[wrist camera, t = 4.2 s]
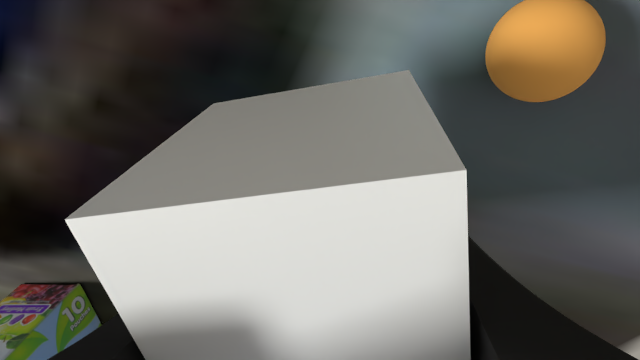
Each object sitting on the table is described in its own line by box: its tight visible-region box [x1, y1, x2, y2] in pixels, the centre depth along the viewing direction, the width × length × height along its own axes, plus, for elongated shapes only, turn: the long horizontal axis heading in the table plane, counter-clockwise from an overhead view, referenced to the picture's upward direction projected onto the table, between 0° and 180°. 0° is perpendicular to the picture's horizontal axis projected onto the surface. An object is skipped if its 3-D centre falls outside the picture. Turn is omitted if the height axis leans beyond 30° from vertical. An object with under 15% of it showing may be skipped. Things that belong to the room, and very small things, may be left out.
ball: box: [485, 0, 606, 102], centre depth 15 cm, size 4×4×4 cm
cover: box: [65, 70, 471, 360], centre depth 10 cm, size 6×9×7 cm, turn 11°
